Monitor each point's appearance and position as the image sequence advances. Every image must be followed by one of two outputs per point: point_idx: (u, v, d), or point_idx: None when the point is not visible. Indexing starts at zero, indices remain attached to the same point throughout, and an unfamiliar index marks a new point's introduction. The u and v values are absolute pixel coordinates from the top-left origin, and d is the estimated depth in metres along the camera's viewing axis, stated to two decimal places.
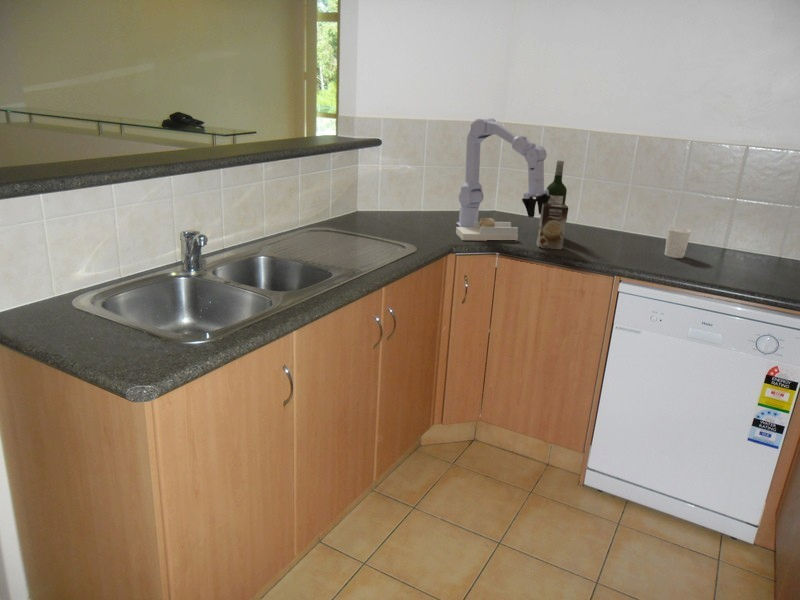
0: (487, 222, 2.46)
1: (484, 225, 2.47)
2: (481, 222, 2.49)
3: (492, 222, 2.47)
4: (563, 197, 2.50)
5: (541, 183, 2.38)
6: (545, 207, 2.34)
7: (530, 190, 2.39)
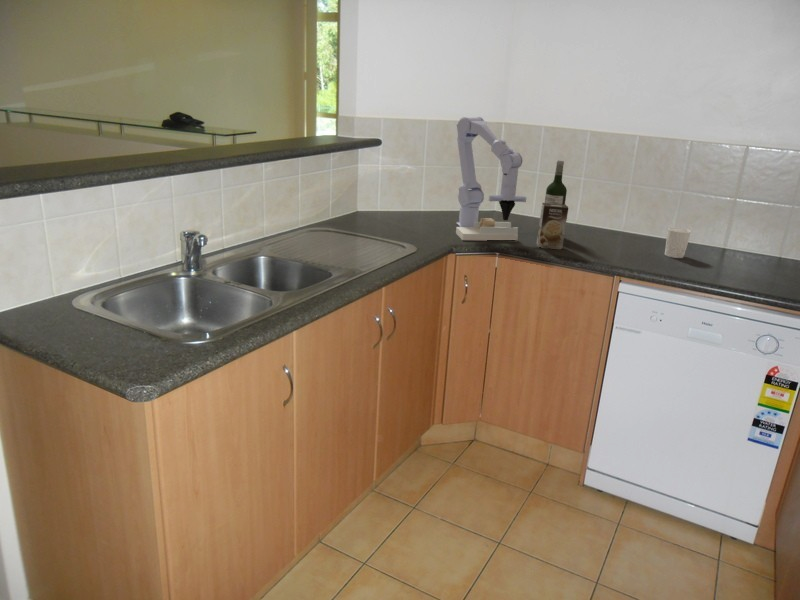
0: (487, 222, 2.46)
1: (484, 225, 2.47)
2: (481, 222, 2.49)
3: (492, 222, 2.47)
4: (563, 197, 2.50)
5: (509, 189, 2.43)
6: (545, 207, 2.34)
7: None
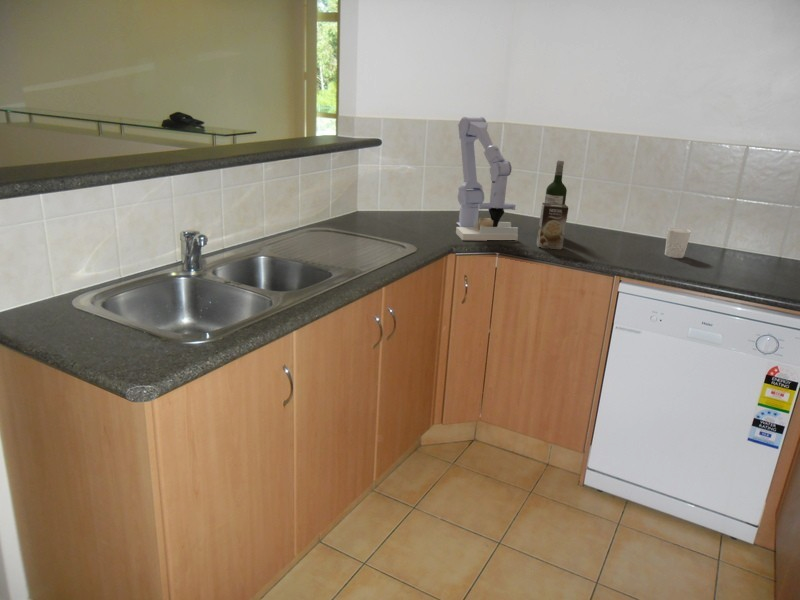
0: (485, 222, 2.46)
1: (482, 225, 2.47)
2: (480, 222, 2.48)
3: (490, 222, 2.47)
4: (563, 197, 2.50)
5: (498, 197, 2.43)
6: (545, 207, 2.34)
7: None
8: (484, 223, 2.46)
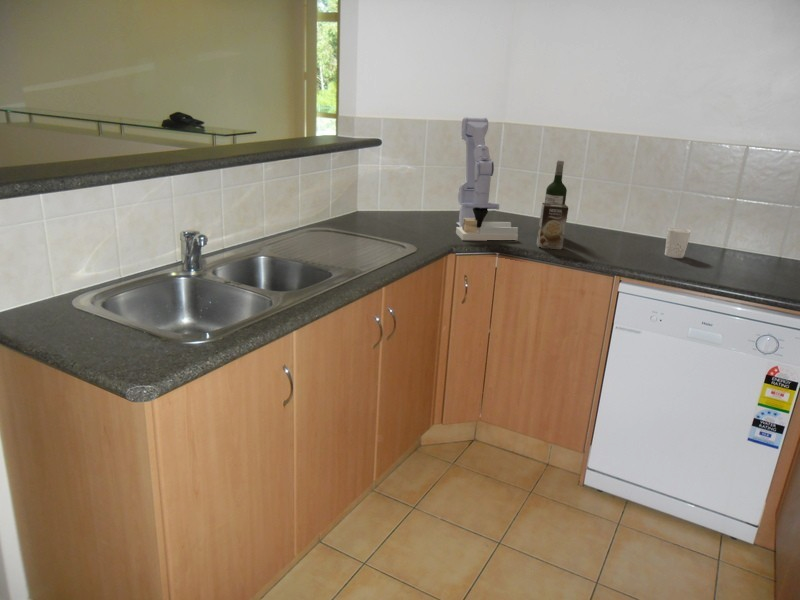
0: (469, 222, 2.45)
1: (466, 225, 2.45)
2: (464, 222, 2.47)
3: (474, 222, 2.46)
4: (563, 197, 2.50)
5: (481, 197, 2.42)
6: (545, 207, 2.34)
7: (473, 201, 2.46)
8: (468, 223, 2.45)
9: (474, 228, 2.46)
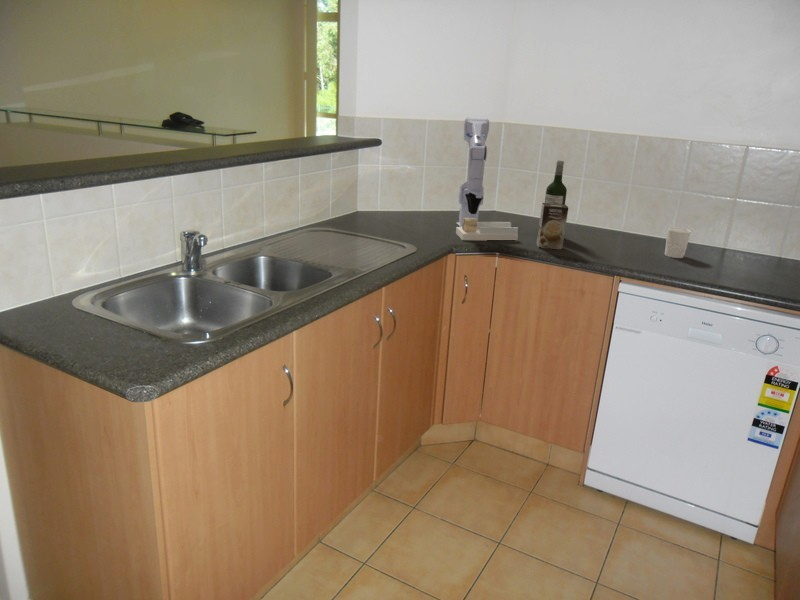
0: (469, 222, 2.45)
1: (466, 225, 2.45)
2: (464, 222, 2.47)
3: (474, 222, 2.46)
4: (563, 197, 2.50)
5: (467, 181, 2.43)
6: (545, 207, 2.34)
7: None
8: (468, 223, 2.45)
9: (474, 228, 2.46)
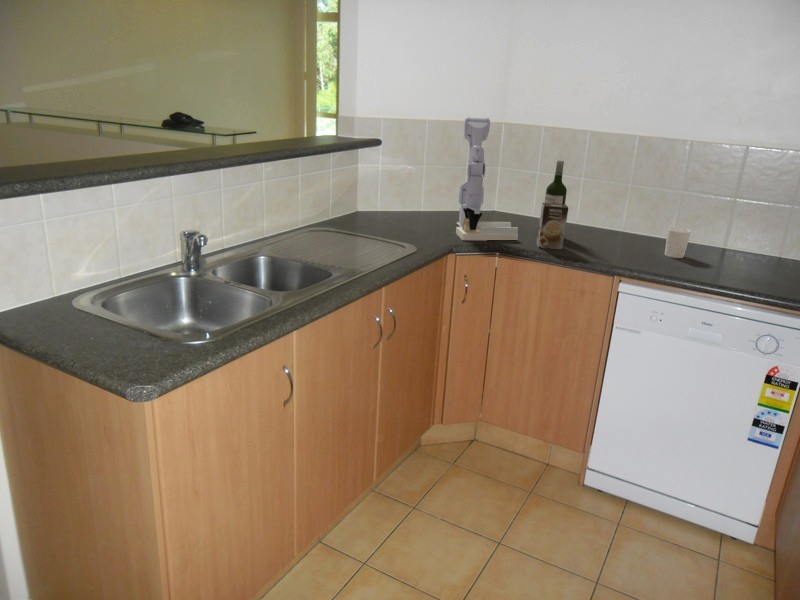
0: None
1: (466, 225, 2.46)
2: (464, 222, 2.47)
3: None
4: (563, 197, 2.50)
5: (466, 196, 2.45)
6: (545, 207, 2.34)
7: None
8: (468, 223, 2.45)
9: None
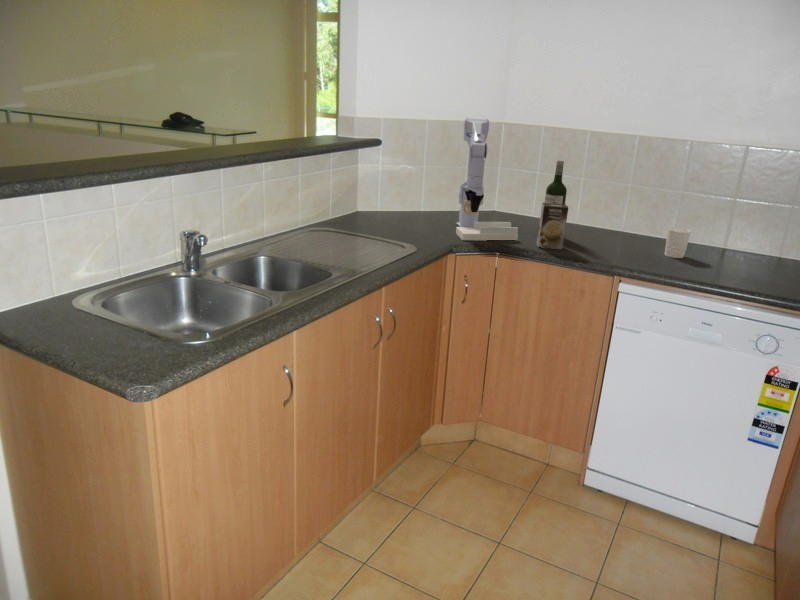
0: None
1: (468, 207, 2.43)
2: (465, 204, 2.45)
3: None
4: (563, 197, 2.50)
5: (468, 178, 2.42)
6: (545, 207, 2.34)
7: None
8: (469, 205, 2.43)
9: None
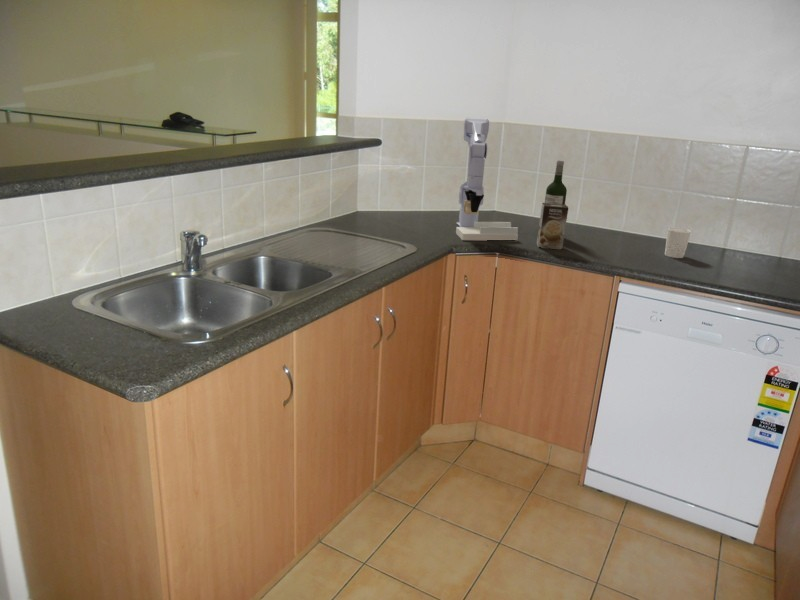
0: None
1: (468, 207, 2.43)
2: (465, 204, 2.45)
3: None
4: (563, 197, 2.50)
5: (468, 178, 2.42)
6: (545, 207, 2.34)
7: None
8: (469, 205, 2.43)
9: None
